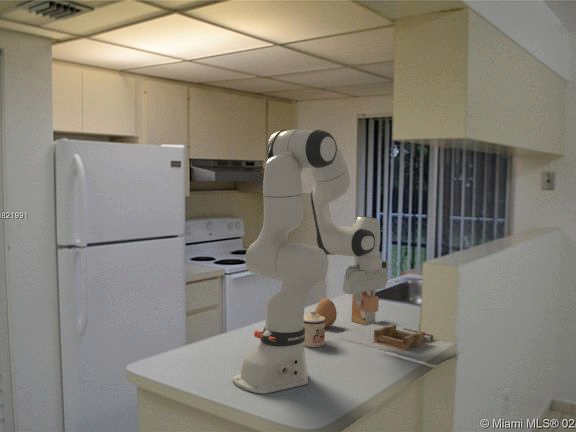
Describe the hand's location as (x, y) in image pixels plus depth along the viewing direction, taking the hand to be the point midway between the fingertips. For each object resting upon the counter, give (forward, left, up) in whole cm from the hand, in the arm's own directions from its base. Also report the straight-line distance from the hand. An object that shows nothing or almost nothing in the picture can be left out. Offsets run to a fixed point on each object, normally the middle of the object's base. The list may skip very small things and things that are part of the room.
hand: (364, 303), depth 187 cm
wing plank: (+20, -7, -14) cm, 25 cm away
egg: (+8, +25, -15) cm, 30 cm away
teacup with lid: (-10, +14, -15) cm, 23 cm away
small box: (+25, +20, -15) cm, 36 cm away
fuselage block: (0, 0, -2) cm, 2 cm away
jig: (+13, -7, -15) cm, 21 cm away
